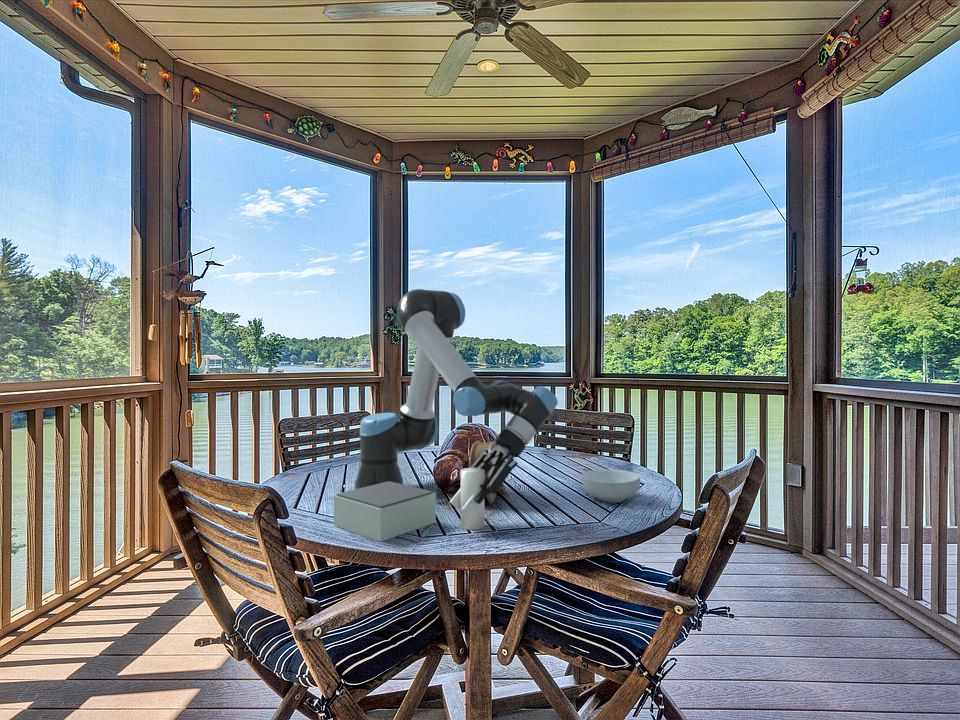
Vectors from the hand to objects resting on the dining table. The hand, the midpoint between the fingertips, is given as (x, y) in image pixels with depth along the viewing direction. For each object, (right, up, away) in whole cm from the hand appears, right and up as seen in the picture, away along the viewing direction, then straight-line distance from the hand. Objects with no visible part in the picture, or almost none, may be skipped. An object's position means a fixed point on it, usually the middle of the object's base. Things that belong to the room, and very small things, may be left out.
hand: (459, 508), depth 136 cm
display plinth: (-19, -5, +4) cm, 20 cm away
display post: (+3, -5, +2) cm, 6 cm away
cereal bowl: (+44, -5, +27) cm, 51 cm away
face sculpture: (+7, -5, +28) cm, 29 cm away
